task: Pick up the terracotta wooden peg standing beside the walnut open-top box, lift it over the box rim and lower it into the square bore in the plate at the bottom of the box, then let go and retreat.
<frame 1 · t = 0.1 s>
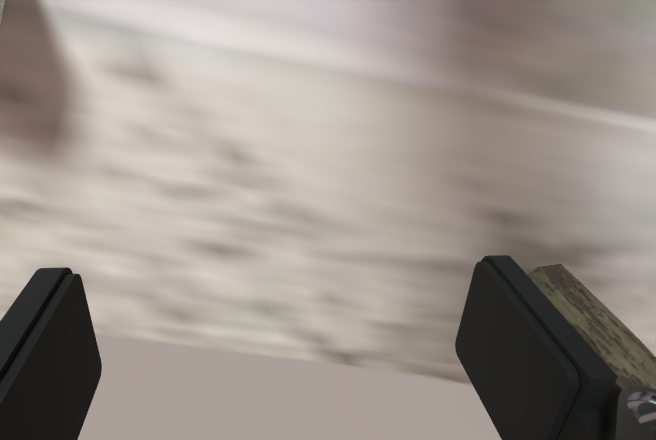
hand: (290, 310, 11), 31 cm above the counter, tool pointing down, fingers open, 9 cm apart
tabletop clock: (523, 286, 55), on the counter
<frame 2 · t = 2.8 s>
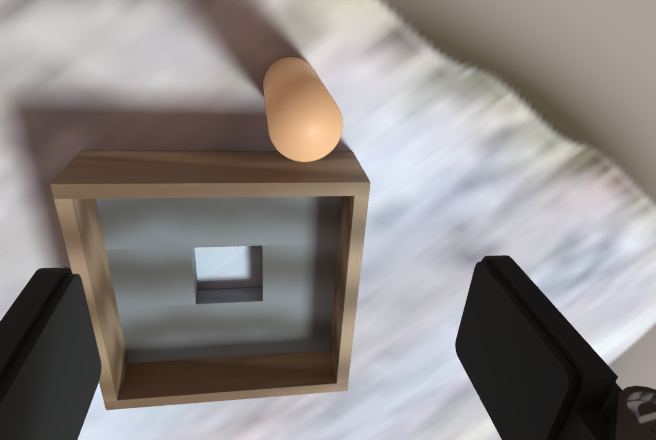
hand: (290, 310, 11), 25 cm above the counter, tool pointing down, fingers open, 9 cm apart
peg: (291, 85, 33), on the counter
bore box: (229, 262, 39), on the counter
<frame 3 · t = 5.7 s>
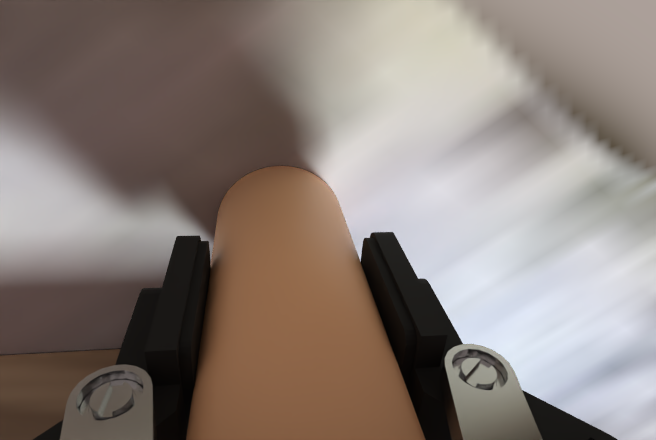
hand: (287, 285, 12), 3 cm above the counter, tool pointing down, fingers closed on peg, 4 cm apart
peg: (280, 223, 15), on the counter, touching gripper
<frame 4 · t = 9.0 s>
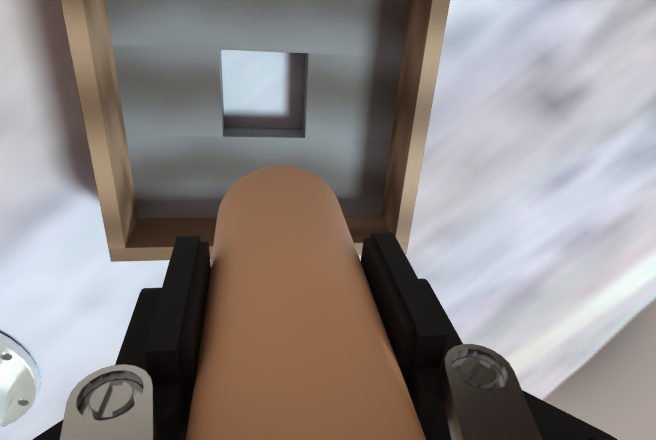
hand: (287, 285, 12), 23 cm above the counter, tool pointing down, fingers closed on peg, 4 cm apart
peg: (280, 223, 15), point 20 cm above the counter, touching gripper
bore box: (263, 89, 32), on the counter
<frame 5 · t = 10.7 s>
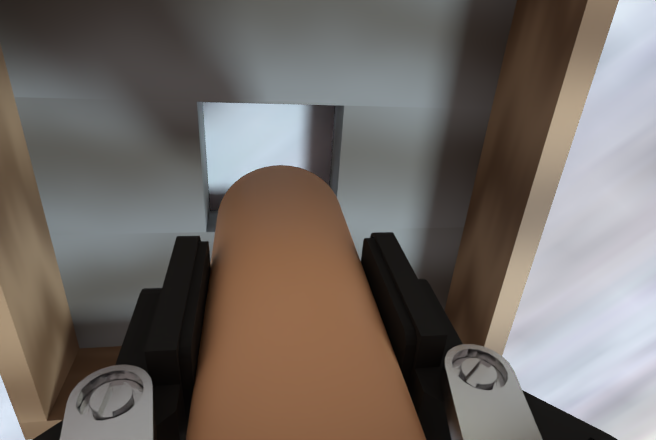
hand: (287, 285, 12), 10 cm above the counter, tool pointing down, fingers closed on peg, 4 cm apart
peg: (280, 223, 15), point 7 cm above the counter, touching gripper
bore box: (270, 154, 20), on the counter
when the fingers open (4 cm above the counter, at t = 12.1 s): peg stays where it is, resting in bore box.
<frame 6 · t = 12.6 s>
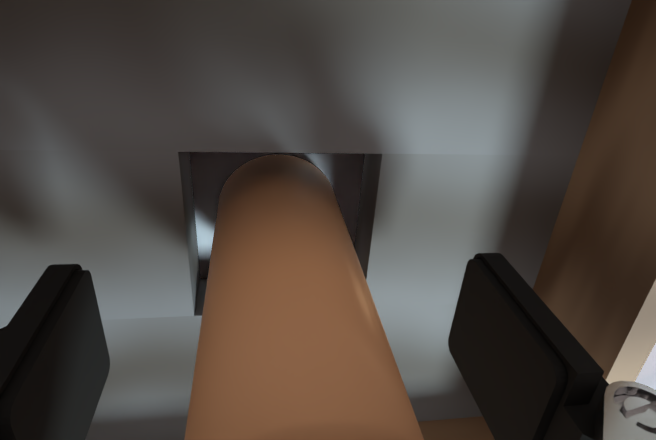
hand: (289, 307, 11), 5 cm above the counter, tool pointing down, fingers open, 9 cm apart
peg: (278, 209, 16), resting in bore box
bore box: (278, 209, 16), on the counter
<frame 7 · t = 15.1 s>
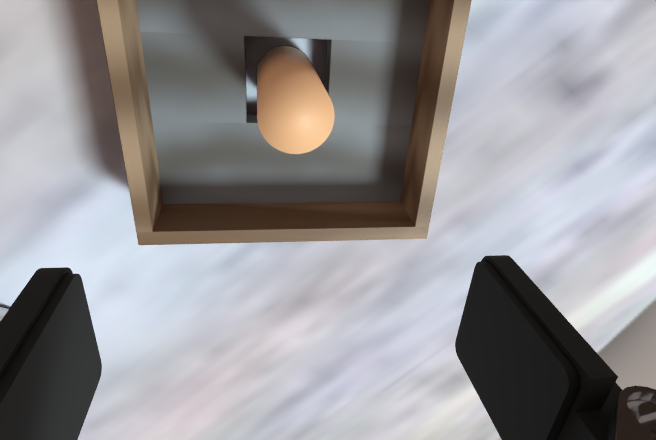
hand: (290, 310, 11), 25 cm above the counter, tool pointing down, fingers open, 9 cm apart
peg: (285, 76, 32), resting in bore box
bore box: (286, 76, 32), on the counter
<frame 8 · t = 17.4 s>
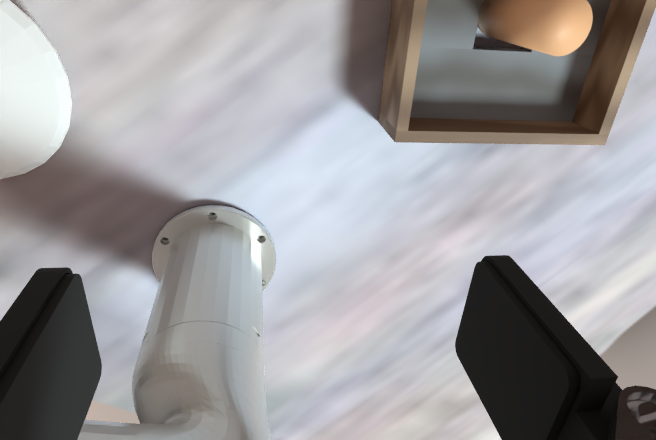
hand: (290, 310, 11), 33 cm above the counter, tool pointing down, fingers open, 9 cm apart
peg: (499, 14, 41), resting in bore box
bore box: (499, 14, 41), on the counter
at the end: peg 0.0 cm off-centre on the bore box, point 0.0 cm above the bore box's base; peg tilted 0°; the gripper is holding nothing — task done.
